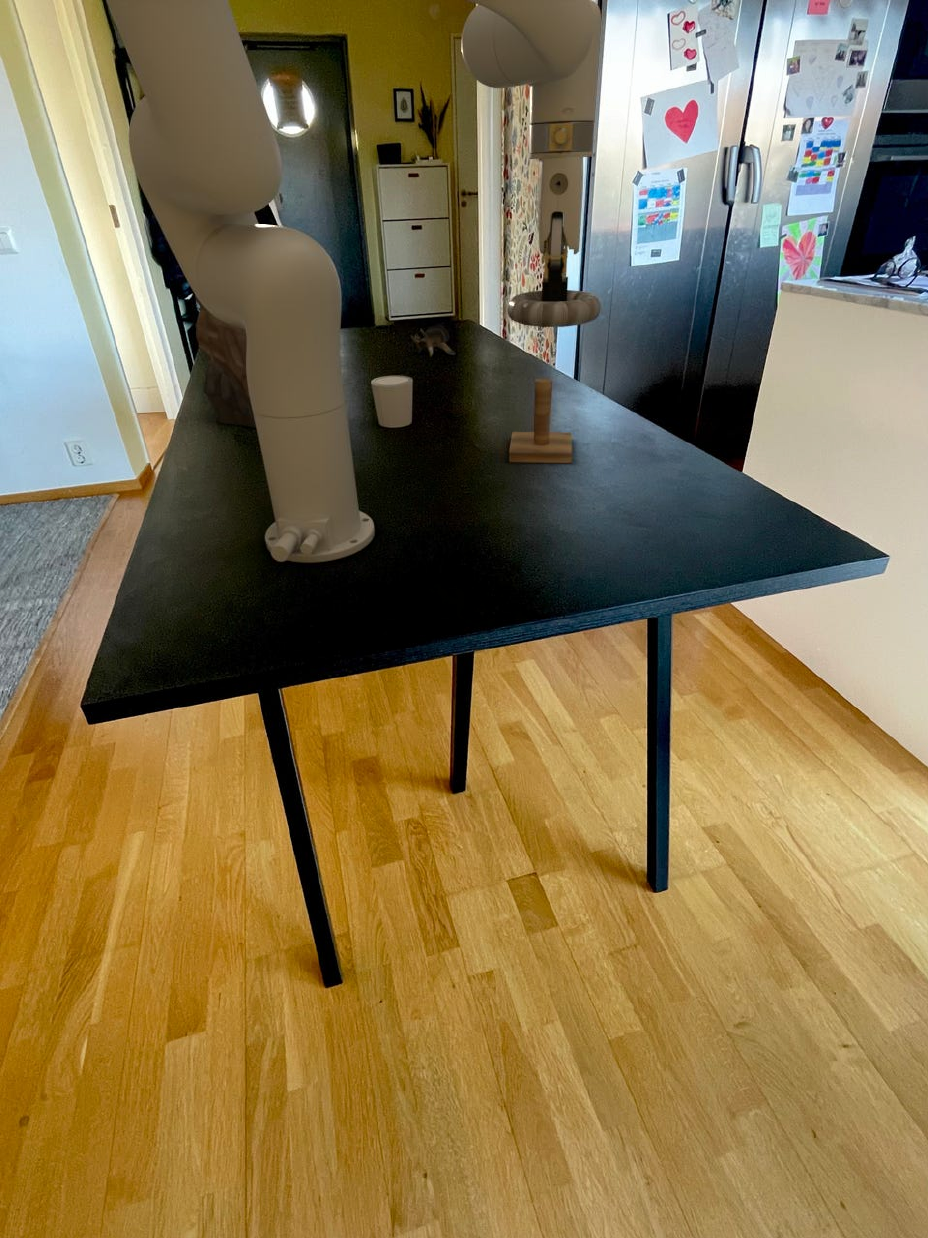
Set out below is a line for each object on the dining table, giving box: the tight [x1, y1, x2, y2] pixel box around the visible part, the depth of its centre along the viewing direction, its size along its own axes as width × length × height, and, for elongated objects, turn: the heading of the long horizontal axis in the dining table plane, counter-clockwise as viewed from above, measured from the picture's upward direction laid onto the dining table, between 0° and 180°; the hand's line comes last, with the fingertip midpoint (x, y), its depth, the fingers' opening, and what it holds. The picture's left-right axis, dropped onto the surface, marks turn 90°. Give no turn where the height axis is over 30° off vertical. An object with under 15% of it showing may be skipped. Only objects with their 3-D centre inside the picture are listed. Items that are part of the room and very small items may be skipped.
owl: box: [194, 295, 257, 429], centre depth 113 cm, size 13×13×20 cm
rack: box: [508, 377, 573, 464], centre depth 97 cm, size 9×9×10 cm
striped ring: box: [507, 289, 602, 328], centre depth 84 cm, size 12×12×3 cm
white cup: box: [370, 375, 414, 429], centre depth 111 cm, size 7×7×7 cm
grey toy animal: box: [410, 324, 456, 357], centre depth 153 cm, size 8×7×9 cm
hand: (554, 311), depth 88 cm, fingers closed on striped ring, 3 cm apart
